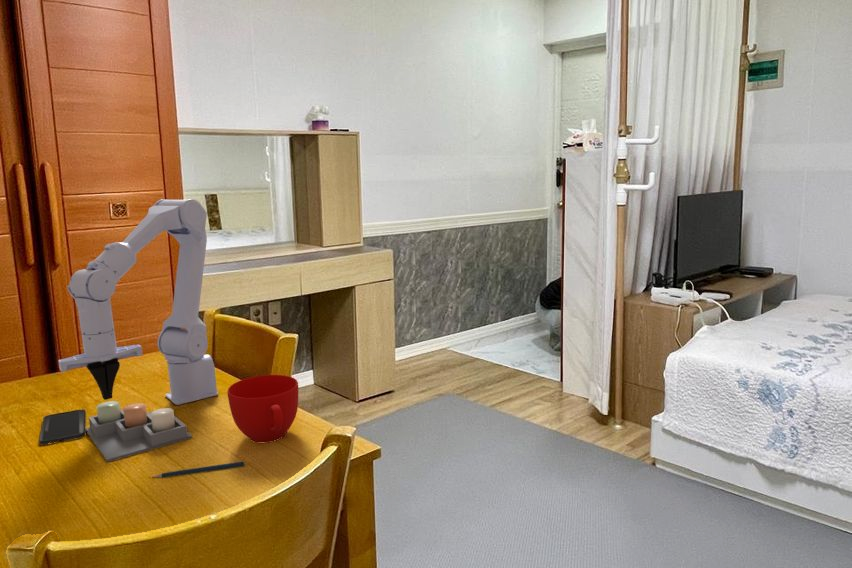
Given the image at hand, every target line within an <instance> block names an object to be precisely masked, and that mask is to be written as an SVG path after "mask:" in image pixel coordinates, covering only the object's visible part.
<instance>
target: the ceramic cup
mask: <svg viewBox="0 0 852 568" xmlns="http://www.w3.org/2000/svg"><path fill="white" fill-rule="evenodd" d="M226 393H227V398H228V404H229V405H228V406H229V408H230V414H231V416H232V419H233V422H234V423H235V425H236V427H237V428H238V430H240V432H241V433H242V434H243V435H244V436H245V437H247V438H248V439H249V440H250V441H251V440H252V441H251V442H253V441H254V443H257V442H267V443H271V442H270V441H273V442H275V441H274V440H276V441H278V440H277V439H279V438H281V437H282V438H283V437H285V435H286V433H287V432H288V431H289V429H290V428H291V426H292V425H293V423H294V422H295V419H296V416H297V412H298V407H299V381H298V380H297V379H296V378H294V377H292V376H288V375H283V374H264V375H257V376H252V377H248V378H244V379H241V380H238V381H236V382H234V383H233V384H230V386H229V387H228V389H227V392H226ZM284 434H285V435H284ZM282 438H281V439H282ZM279 440H280V439H279Z"/></svg>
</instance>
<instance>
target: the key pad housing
mask: <svg viewBox="0 0 852 568" xmlns="http://www.w3.org/2000/svg"><path fill="white" fill-rule="evenodd" d="M153 411H154V410H152V411H149V412H146V413H147V423H146V424H144V425H140V426H136V427H126V426H125V420H124V412H123V408H122V409H121V408H120V414H121V420H117V421H113V422H109V423H105V424H99V420H98V414H96V415H93V416H90V417H88V422H89V427H86V428H85V433H87V435H88V436H89V438H90V439H91V440H92V442H93V443H94V445H95V446H96V448H97V450H98V451H99V452H100V453H101V456H103V457H104V460H105V461H106V462H107V463H110V462H112V461H116V460H119V459H120V460H121V459H122V458H127V457H131V456H134V455H138V454H141V453H145V452H148V451H151V450H155V449H159V448H162V447H165V446H170V445H172V444H176V443H181V442H183V441H187V440H191V439H193V435H192V434H191V433H190V432H189V431H188V429H187V425H186V424H184V423H183V422H182V420H180V419H179V418H178V417H177V416H175V415H174V420H175V428H172V429H168V430H165V431H161V432H157V433H155V432H153V428H152V420H151V413H152V412H153Z"/></svg>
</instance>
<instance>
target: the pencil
mask: <svg viewBox="0 0 852 568" xmlns="http://www.w3.org/2000/svg"><path fill="white" fill-rule="evenodd" d="M241 467H245V461H244V460H243V461H238V462H237V461H236V462H229V463H223V464H215V465H209V466H201V467H195V468H189V469H181V470H175V471H169V472H168V471H167V472H161V473H159V474H156V475H155V476H152V477H151V478H154V479H159V478H160V479H162V478H171V477H175V476H176V477H177V476H183V475H190V474H191V475H192V474H198V473H204V472H205V473H206V472H212V471H219V470H227V469H235V468H241Z"/></svg>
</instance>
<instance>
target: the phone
mask: <svg viewBox="0 0 852 568" xmlns="http://www.w3.org/2000/svg"><path fill="white" fill-rule="evenodd" d="M86 419H87V413H86V409H84V408H81V409H75V410H70V411H64V412H59V413H53V414H48V415H45V416H43V419H42V424H41V429H40V435H39V439H38V440H39V441H38V442H39V445H40V444H47V445H49V444H48V443H52V444H55V443H54V442H57V443H60V442H59V441H63V442H66V441H67V440H68V441H72V440H71V439H73V440H78V439H81V438H83V437H85V436H86V429H85V427H86V426H87V425H86V421H87V420H86ZM86 428H87V427H86Z"/></svg>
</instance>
